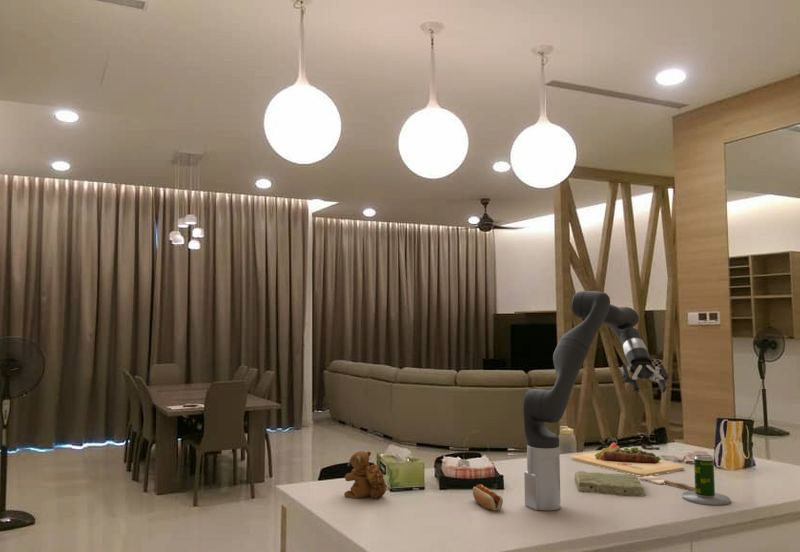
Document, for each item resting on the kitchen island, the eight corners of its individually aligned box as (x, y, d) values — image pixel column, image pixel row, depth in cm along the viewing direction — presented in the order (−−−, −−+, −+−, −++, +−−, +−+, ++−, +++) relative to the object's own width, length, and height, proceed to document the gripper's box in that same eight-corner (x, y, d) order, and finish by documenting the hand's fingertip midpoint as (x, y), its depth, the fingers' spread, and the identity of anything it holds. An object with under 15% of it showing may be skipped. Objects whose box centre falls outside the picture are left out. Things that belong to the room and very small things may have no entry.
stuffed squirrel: (359, 489, 201) (360, 447, 202) (395, 496, 193) (395, 452, 194) (339, 495, 193) (339, 452, 194) (375, 503, 185) (375, 457, 186)
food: (468, 500, 189) (468, 483, 189) (485, 498, 190) (485, 481, 191) (488, 513, 176) (488, 495, 176) (506, 511, 177) (506, 493, 178)
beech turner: (711, 492, 198) (710, 488, 198) (699, 494, 195) (698, 490, 195) (651, 477, 217) (651, 473, 217) (639, 479, 214) (639, 476, 214)
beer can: (709, 494, 192) (708, 453, 193) (718, 498, 187) (717, 457, 188) (692, 493, 192) (690, 453, 193) (700, 498, 187) (699, 457, 188)
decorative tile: (574, 480, 215) (574, 469, 215) (636, 483, 211) (636, 472, 211) (577, 494, 197) (577, 482, 197) (645, 498, 193) (645, 486, 193)
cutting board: (568, 460, 247) (568, 441, 248) (610, 454, 259) (609, 435, 259) (643, 479, 217) (642, 457, 217) (686, 471, 229) (685, 450, 229)
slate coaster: (706, 507, 181) (706, 504, 181) (672, 495, 193) (672, 493, 193) (740, 502, 186) (740, 500, 186) (705, 491, 198) (705, 489, 198)
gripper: (618, 346, 216) (631, 383, 204) (660, 346, 216) (676, 383, 204) (613, 361, 221) (626, 398, 208) (654, 361, 221) (669, 398, 209)
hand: (650, 391), depth 206 cm, fingers open, 8 cm apart
